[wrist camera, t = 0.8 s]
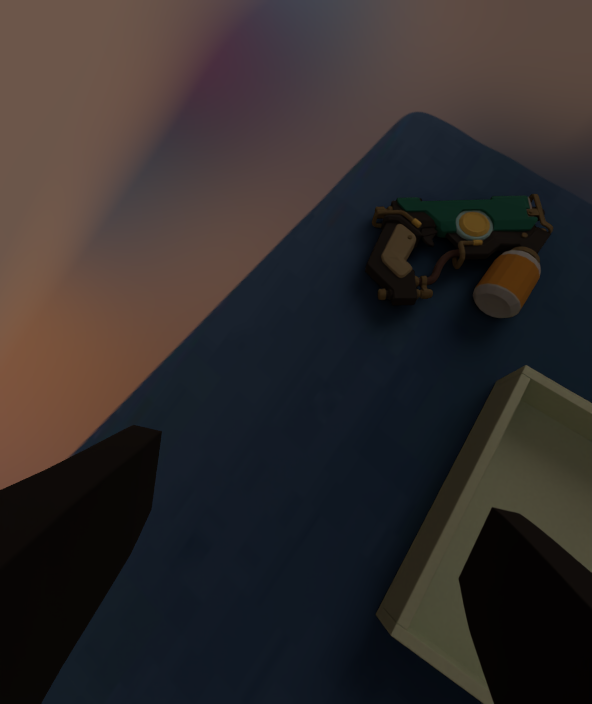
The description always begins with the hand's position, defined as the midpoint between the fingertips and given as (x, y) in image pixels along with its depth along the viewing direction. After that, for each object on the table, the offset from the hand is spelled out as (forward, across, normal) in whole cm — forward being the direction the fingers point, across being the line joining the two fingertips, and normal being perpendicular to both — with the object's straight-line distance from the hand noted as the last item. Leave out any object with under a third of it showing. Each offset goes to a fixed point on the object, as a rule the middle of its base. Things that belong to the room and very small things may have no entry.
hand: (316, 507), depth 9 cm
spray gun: (+36, -12, -4) cm, 38 cm away
